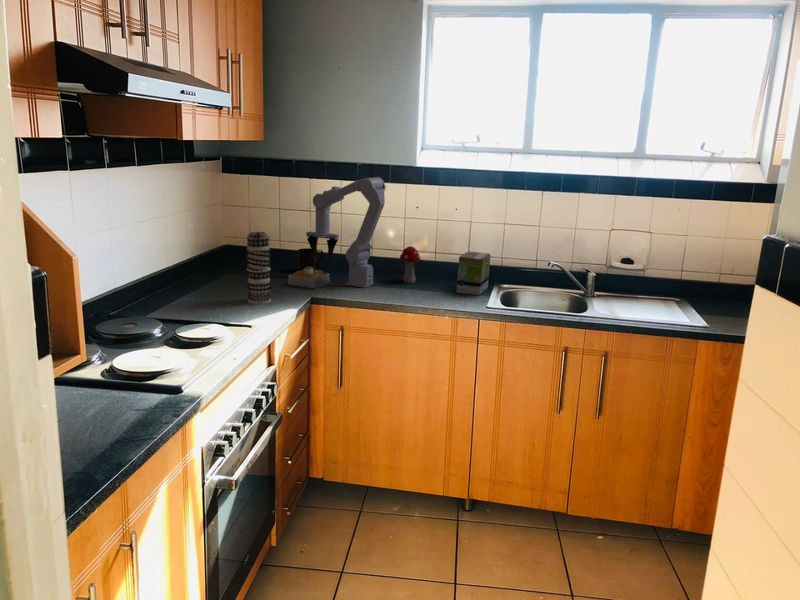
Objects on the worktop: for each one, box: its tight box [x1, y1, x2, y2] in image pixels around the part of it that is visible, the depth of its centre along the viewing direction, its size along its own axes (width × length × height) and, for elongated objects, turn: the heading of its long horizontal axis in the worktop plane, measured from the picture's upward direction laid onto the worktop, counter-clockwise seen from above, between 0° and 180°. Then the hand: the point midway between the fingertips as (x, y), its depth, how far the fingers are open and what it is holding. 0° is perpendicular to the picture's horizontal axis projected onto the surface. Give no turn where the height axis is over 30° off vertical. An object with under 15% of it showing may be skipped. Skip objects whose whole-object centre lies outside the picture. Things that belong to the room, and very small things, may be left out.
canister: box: [304, 266, 313, 274], centre depth 267 cm, size 4×4×7 cm
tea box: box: [456, 250, 491, 296], centre depth 265 cm, size 15×10×15 cm
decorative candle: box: [244, 231, 272, 305], centre depth 237 cm, size 9×9×25 cm
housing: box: [287, 269, 331, 289], centre depth 267 cm, size 12×12×5 cm
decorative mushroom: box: [399, 245, 421, 284], centre depth 276 cm, size 10×9×15 cm
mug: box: [297, 247, 324, 271], centre depth 292 cm, size 8×12×10 cm
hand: (322, 255), depth 277 cm, fingers open, 7 cm apart
